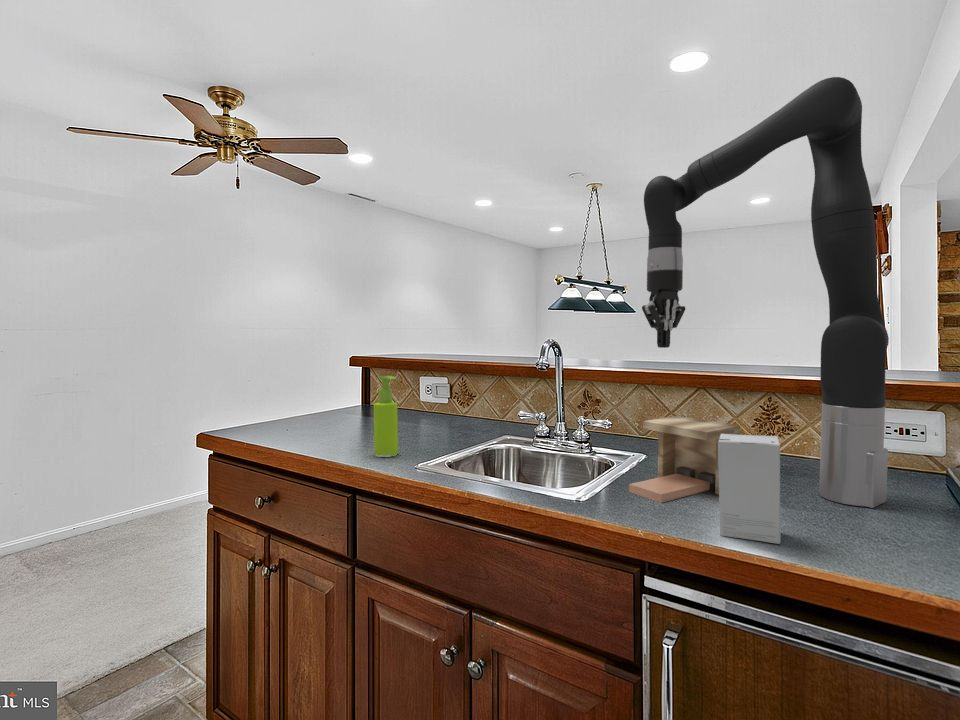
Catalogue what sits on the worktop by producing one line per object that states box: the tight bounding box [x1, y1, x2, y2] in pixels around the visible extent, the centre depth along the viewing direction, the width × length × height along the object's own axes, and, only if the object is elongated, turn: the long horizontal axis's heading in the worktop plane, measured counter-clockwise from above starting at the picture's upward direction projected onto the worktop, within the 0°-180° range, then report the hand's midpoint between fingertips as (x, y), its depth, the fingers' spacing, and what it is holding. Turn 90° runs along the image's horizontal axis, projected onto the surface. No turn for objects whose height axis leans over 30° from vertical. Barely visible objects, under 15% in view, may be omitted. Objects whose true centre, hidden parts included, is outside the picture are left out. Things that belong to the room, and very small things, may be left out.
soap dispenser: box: [373, 375, 399, 455], centre depth 128 cm, size 6×7×20 cm
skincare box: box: [718, 434, 782, 545], centre depth 77 cm, size 8×6×15 cm
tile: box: [628, 474, 711, 504], centre depth 99 cm, size 8×14×2 cm, turn 121°
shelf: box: [642, 415, 741, 496], centre depth 101 cm, size 14×11×12 cm
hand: (663, 347), depth 115 cm, fingers closed
